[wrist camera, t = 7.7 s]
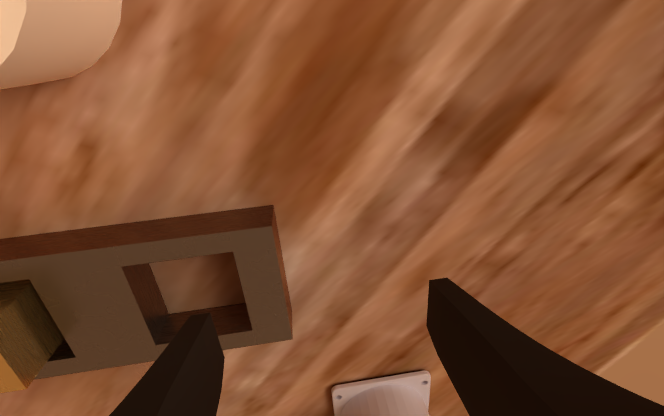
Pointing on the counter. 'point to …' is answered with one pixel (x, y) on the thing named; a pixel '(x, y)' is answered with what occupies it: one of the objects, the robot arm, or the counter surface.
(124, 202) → the counter surface
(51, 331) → the golden brown block
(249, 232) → the grey slotted board
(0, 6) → the cylinder with rectangular tab
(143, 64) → the counter surface
